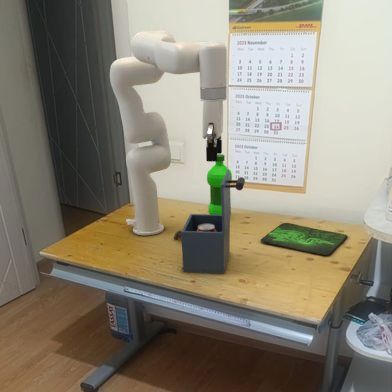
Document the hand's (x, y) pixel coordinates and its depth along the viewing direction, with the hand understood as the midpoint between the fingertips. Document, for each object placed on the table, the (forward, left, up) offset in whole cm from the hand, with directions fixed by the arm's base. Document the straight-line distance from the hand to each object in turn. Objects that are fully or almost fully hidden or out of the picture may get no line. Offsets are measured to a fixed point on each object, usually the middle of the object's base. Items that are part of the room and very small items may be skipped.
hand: (214, 157), depth 144 cm
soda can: (-3, 0, -34) cm, 34 cm away
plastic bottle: (-5, +45, -35) cm, 57 cm away
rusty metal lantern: (-13, +18, -35) cm, 41 cm away
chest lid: (+3, 0, -13) cm, 14 cm away
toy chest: (-3, 0, -35) cm, 35 cm away
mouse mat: (+30, +23, -35) cm, 52 cm away
